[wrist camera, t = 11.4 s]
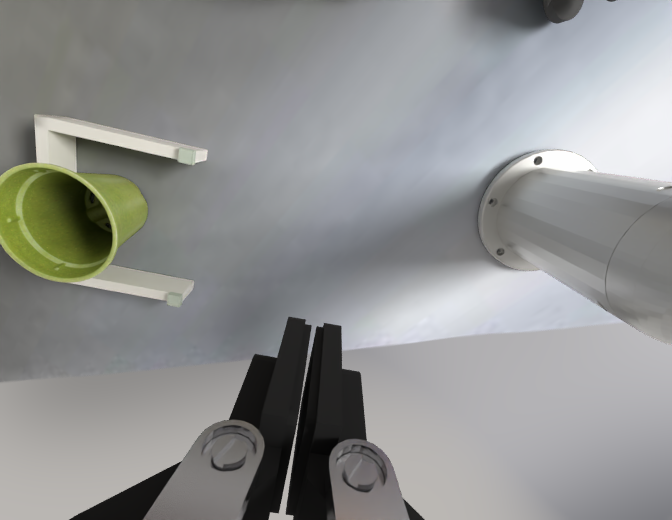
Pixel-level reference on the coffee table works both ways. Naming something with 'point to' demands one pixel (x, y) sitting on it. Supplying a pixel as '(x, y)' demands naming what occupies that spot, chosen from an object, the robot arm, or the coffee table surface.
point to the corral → (60, 150)
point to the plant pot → (66, 219)
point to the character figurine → (562, 9)
